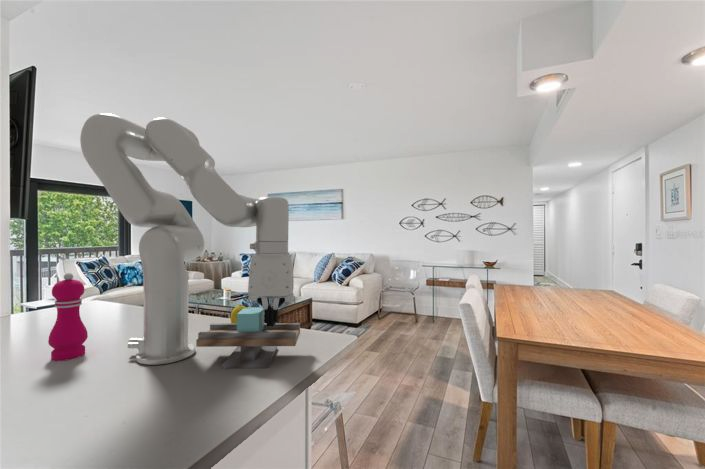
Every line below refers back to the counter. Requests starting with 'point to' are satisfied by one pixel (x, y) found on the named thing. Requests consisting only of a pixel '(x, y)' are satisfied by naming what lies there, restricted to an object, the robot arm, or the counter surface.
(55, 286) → the pepper mill
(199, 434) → the counter surface
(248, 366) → the wooden tray
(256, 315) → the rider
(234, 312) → the lemon
